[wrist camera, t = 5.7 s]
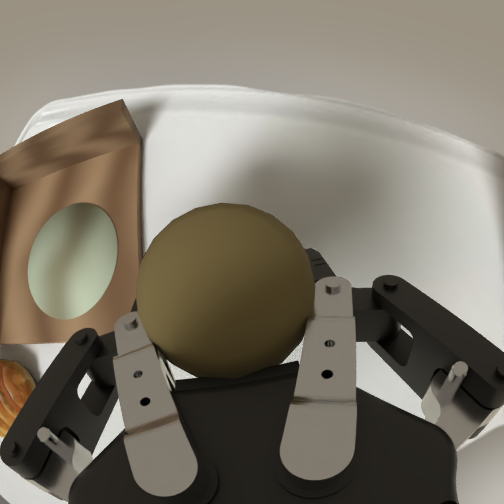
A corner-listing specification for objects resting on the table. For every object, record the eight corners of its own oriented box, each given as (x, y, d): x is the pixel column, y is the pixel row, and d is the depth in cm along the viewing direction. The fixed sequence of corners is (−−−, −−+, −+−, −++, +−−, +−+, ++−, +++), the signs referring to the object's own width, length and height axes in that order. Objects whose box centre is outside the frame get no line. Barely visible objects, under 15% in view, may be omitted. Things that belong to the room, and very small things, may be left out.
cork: (194, 369, 16) (101, 395, 6) (193, 274, 18) (118, 179, 8) (294, 367, 16) (352, 397, 6) (289, 270, 18) (327, 166, 8)
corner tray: (142, 139, 22) (122, 98, 17) (149, 334, 17) (112, 328, 12) (13, 187, 21) (-15, 163, 17) (-1, 344, 16) (-41, 337, 11)
